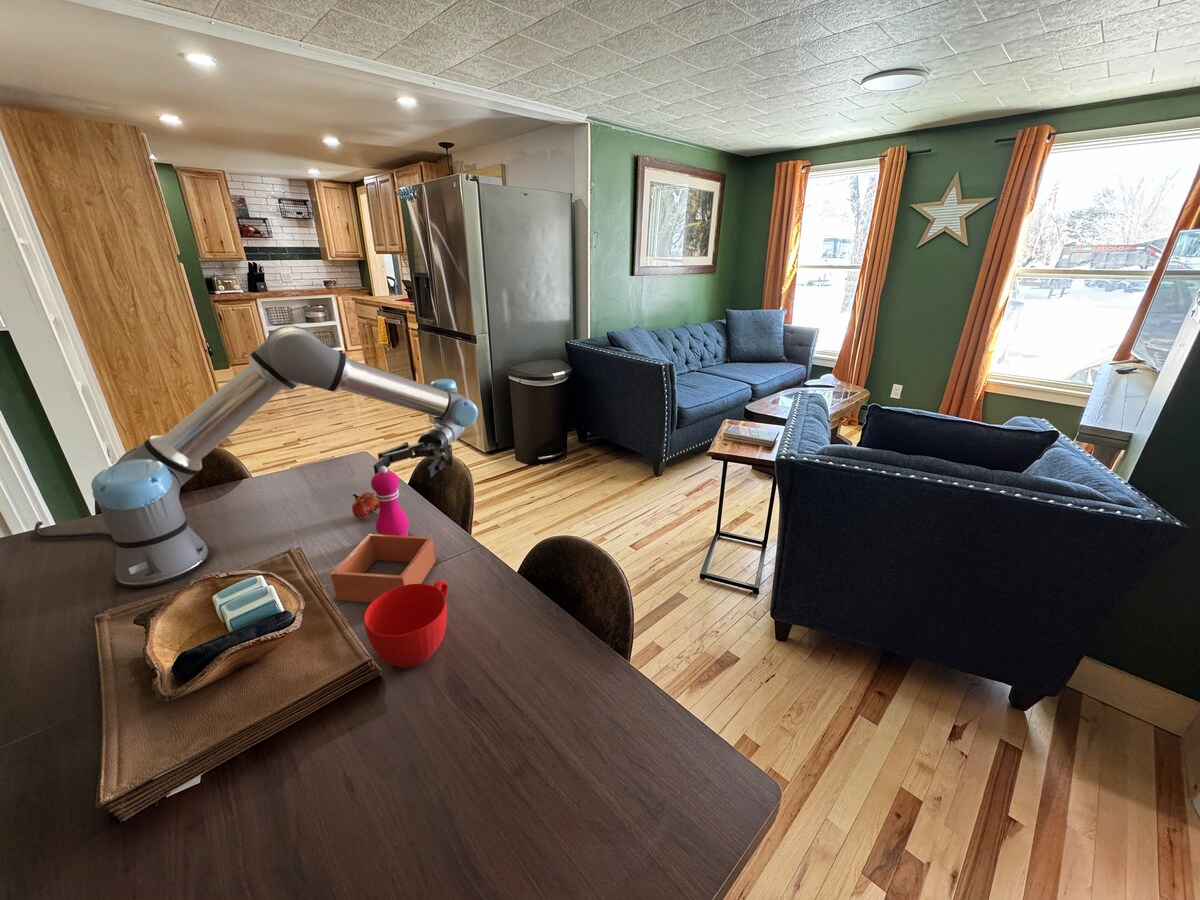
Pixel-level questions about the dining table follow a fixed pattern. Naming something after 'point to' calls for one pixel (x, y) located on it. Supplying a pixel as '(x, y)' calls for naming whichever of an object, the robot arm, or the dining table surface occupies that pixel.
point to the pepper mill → (389, 504)
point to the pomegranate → (365, 505)
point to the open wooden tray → (368, 587)
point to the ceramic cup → (407, 623)
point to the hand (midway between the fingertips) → (402, 472)
